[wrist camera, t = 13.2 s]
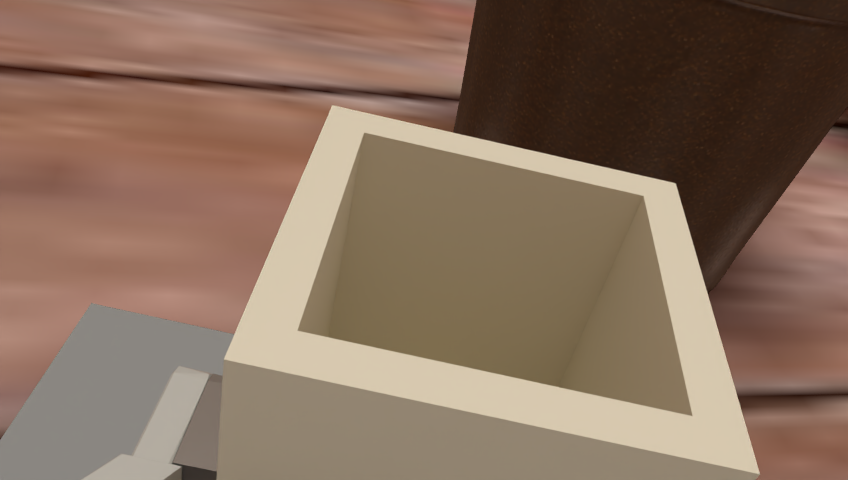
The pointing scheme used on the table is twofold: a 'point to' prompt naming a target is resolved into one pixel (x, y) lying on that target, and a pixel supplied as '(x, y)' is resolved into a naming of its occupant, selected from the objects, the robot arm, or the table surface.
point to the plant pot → (666, 96)
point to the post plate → (102, 392)
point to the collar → (477, 323)
